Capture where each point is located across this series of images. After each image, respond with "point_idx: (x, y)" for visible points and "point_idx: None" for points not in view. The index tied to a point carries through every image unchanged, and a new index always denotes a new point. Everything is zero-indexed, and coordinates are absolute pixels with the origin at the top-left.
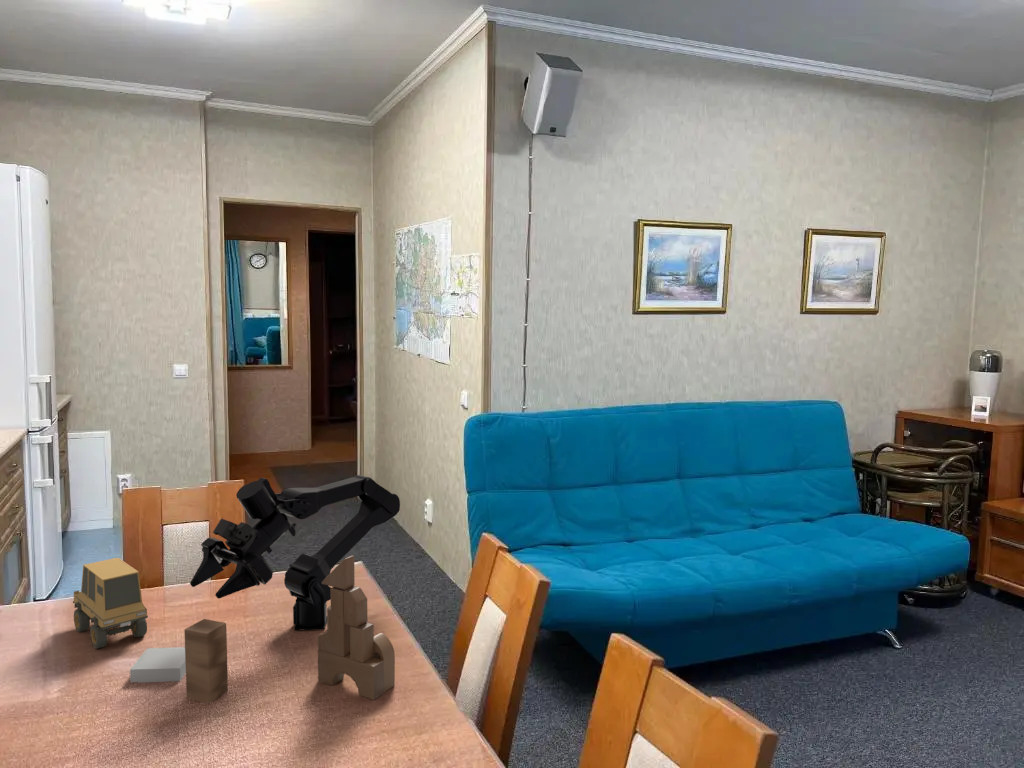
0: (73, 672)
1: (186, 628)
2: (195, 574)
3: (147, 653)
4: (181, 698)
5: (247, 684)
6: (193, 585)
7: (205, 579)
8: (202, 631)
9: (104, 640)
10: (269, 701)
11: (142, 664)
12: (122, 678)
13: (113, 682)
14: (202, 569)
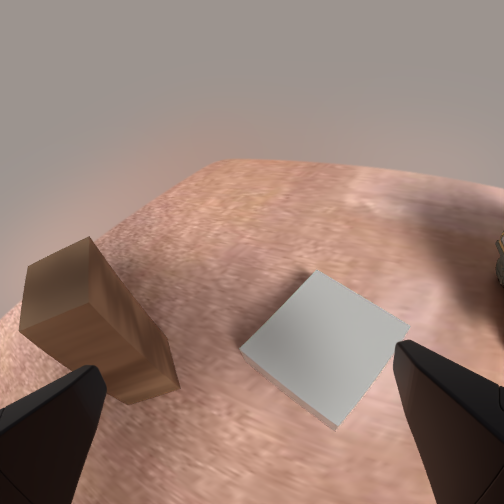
0: (421, 230)
1: (87, 241)
2: (450, 366)
3: (379, 318)
4: (175, 332)
5: (117, 444)
6: (393, 365)
7: (423, 454)
8: (43, 263)
9: (500, 272)
10: None
11: (324, 294)
12: (346, 281)
13: (340, 266)
14: (460, 415)
